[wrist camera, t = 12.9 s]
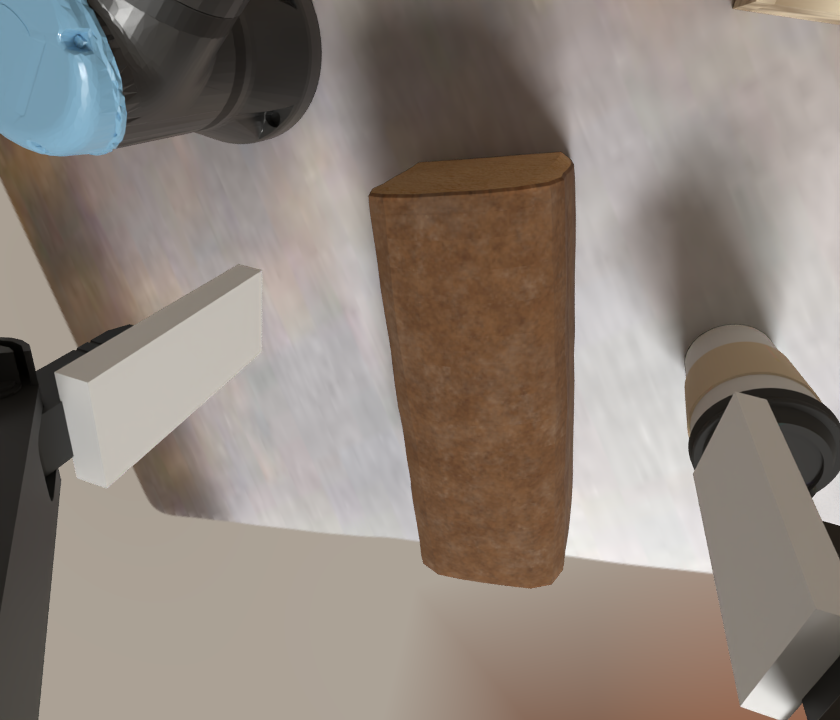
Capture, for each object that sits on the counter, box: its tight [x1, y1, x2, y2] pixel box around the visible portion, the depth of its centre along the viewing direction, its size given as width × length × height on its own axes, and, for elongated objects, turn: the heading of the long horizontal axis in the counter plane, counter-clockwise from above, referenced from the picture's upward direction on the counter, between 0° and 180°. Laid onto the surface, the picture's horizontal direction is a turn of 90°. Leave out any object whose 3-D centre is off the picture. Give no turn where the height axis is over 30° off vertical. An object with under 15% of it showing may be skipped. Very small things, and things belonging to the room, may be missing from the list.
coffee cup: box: [685, 324, 840, 498], centre depth 43 cm, size 9×9×15 cm
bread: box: [369, 152, 576, 588], centre depth 48 cm, size 14×34×14 cm, turn 7°
